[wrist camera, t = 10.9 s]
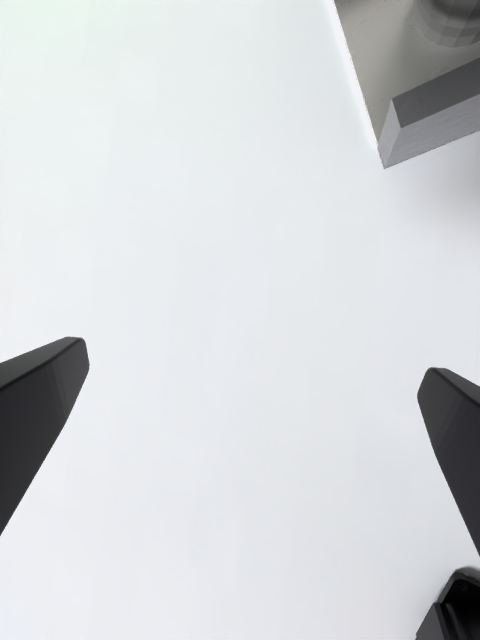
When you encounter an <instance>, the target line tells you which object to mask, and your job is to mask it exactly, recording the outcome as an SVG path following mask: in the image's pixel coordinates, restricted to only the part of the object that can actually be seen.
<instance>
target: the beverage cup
mask: <svg viewBox="0 0 480 640" xmlns="http://www.w3.org/2000/svg"><path fill="white" fill-rule="evenodd" d="M414 13H415V17H416V22H417V26H418V27H419V29H420V30H421V31H422V33H423V34H424V36H425V37H426V38H428V39H429V40H431V41H432V42H434V43H436V44H437V45H442V46H447V47H452V48H454V47H462V46H469V45H472V44H474V43H477V42H479V41H480V0H415V6H414Z"/></svg>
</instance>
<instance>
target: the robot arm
mask: <svg viewBox="0 0 480 640" xmlns="http://www.w3.org/2000/svg"><path fill="white" fill-rule="evenodd" d="M88 371H89V359H88V353H87V348H86V343H85V341H84V339H82V338H79V337H65V338H62V339H60V340H57V341H54V342H52V343H49V344H47V345H44V346H42V347H39V348H37V349H34V350H32V351H29V352H27V353H24V354H22V355H19V356H17V357H14V358H12V359H9V360H7V361H4V362H2V363H0V535H1V534H2V532H3V530H4V529H5V527H6V525H7V523H8V522H9V520H10V518H11V517H12V515H13V513H14V511H15V510H16V508H17V506H18V504H19V503H20V501H21V499H22V498H23V496H24V494H25V492H26V491H27V489H28V487H29V486H30V484H31V482H32V480H33V479H34V477H35V475H36V473H37V472H38V470H39V468H40V467H41V465H42V463H43V461H44V460H45V458H46V456H47V455H48V453H49V451H50V449H51V448H52V446H53V444H54V442H55V441H56V439H57V437H58V436H59V434H60V432H61V430H62V429H63V427H64V425H65V423H66V421H67V419H68V417H69V415H70V413H71V411H72V408H73V406H74V404H75V401H76V399H77V397H78V395H79V392H80V390H81V388H82V385H83V383H84V381H85V379H86V376H87V374H88ZM417 399H418V403H419V407H420V410H421V413H422V416H423V419H424V422H425V425H426V429H427V432H428V435H429V438H430V441H431V444H432V447H433V450H434V453H435V455H436V458H437V460H438V463H439V465H440V467H441V470H442V472H443V474H444V476H445V479H446V481H447V483H448V486H449V488H450V490H451V492H452V495H453V497H454V499H455V501H456V504H457V506H458V508H459V511H460V513H461V515H462V517H463V520H464V522H465V524H466V526H467V529H468V531H469V533H470V536H471V538H472V540H473V542H474V545H475V547H476V549H477V551H478V554H479V556H480V386H478V385H476V384H474V383H472V382H470V381H469V380H467V379H465V378H463V377H461V376H460V375H458V374H456V373H454V372H452V371H450V370H449V369H446V368H436V367H431V368H429V369H428V370H427V371H426V373H425V376H424V378H423V380H422V383H421V385H420V388H419V390H418V394H417ZM459 583H464V585H458V584H459ZM416 636H417V638H416V640H480V582H479V581H477V580H475V579H473V578H471V577H469V576H467V575H464V574H462V573H455V574H453V575H452V576H451V577H450V579H449V581H448V582H447V584H446V586H445V588H444V590H443V591H442V593H441V595H440V597H439V598H438V600H437V601H436V602H435V603H433V604H432V606H431V608H430V610H429V611H428V613H427V615H426V617H425V619H424V620H423V622H422V624H421V626H420V628H419V630H418V631H417V633H416Z"/></svg>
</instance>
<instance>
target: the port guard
mask: <svg viewBox="0 0 480 640" xmlns="http://www.w3.org/2000/svg"><path fill="white" fill-rule="evenodd" d="M333 4H334V7H335V10H336V13H337V17H338V20H339V23H340V27H341V30H342V33H343V36H344V40H345V43H346V46H347V49H348V53H349V56H350V59H351V62H352V66H353V69H354V72H355V76H356V79H357V82H358V85H359V89H360V92H361V95H362V98H363V102H364V105H365V108H366V111H367V115H368V118H369V121H370V124H371V128H372V131H373V134H374V138H375V141H376V144H377V147H378V151H379V154H380V157H381V160H382V164H383V167H384V169H385V168H388V167H390V166H393V165H395V164H398V163H400V162H403V161H405V160H408V159H410V158H413V157H415V156H417V155H420V154H422V153H425V152H427V151H430V150H432V149H435V148H437V147H440V146H442V145H445V144H447V143H449V142H452V141H454V140H457V139H459V138H462V137H464V136H467V135H469V134H472V133H474V132H477V131H479V130H480V41H479V42H477V43H474V44H472V45H469V46H462V47H454V48H452V47H447V46H442V45H437V44H436V43H434V42H432V41H431V40H429V39H428V38H426V37H425V36H424V34H423V33H422V31H421V30H420V29H419V27H418V26H417V22H416V17H415V13H414V6H415V0H333Z"/></svg>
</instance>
